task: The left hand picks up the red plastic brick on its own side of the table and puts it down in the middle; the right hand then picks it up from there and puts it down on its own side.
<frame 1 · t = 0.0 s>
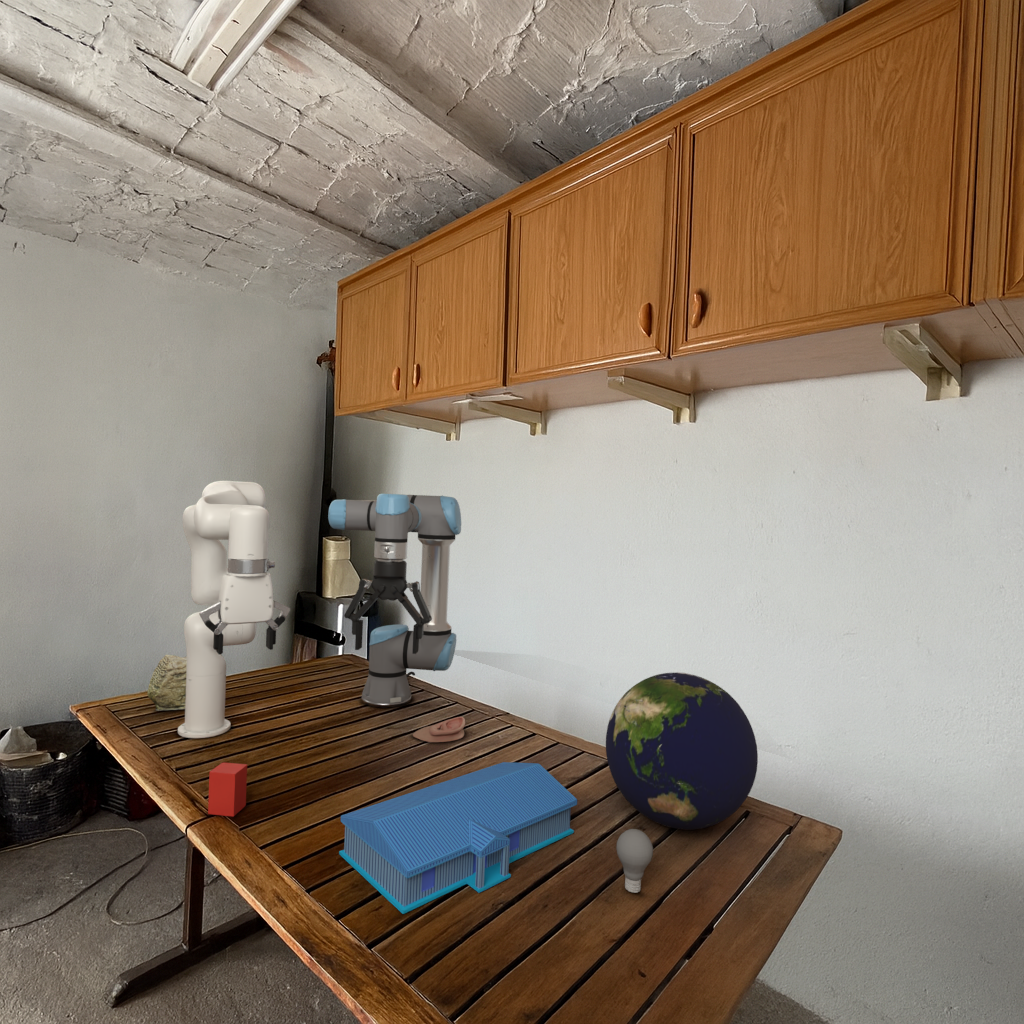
left hand: (244, 650, 130), 31 cm above the table, tool pointing down, fingers open, 9 cm apart
right hand: (386, 650, 148), 28 cm above the table, tool pointing down, fingers open, 13 cm apart
model building: (466, 846, 117), on the table
fossil: (183, 706, 185), on the table
brick: (227, 809, 127), on the table
anatomical model: (439, 735, 171), on the table
globe: (675, 821, 130), on the table
light bulb: (632, 891, 106), on the table
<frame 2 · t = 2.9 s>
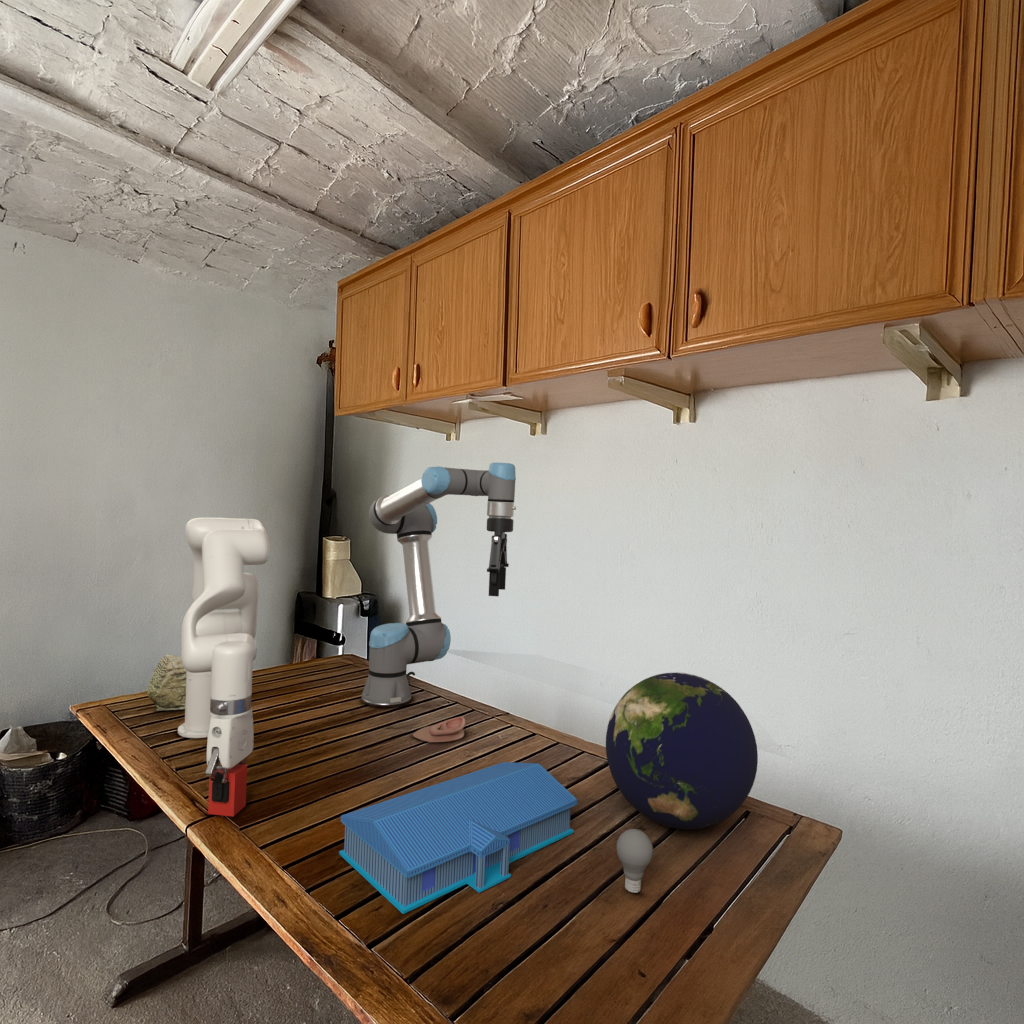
left hand: (227, 794, 127), 3 cm above the table, tool pointing down, fingers closed on brick, 4 cm apart
right hand: (497, 592, 179), 38 cm above the table, tool pointing down, fingers open, 13 cm apart
brick: (227, 809, 127), on the table, touching left hand
everything else where it was.
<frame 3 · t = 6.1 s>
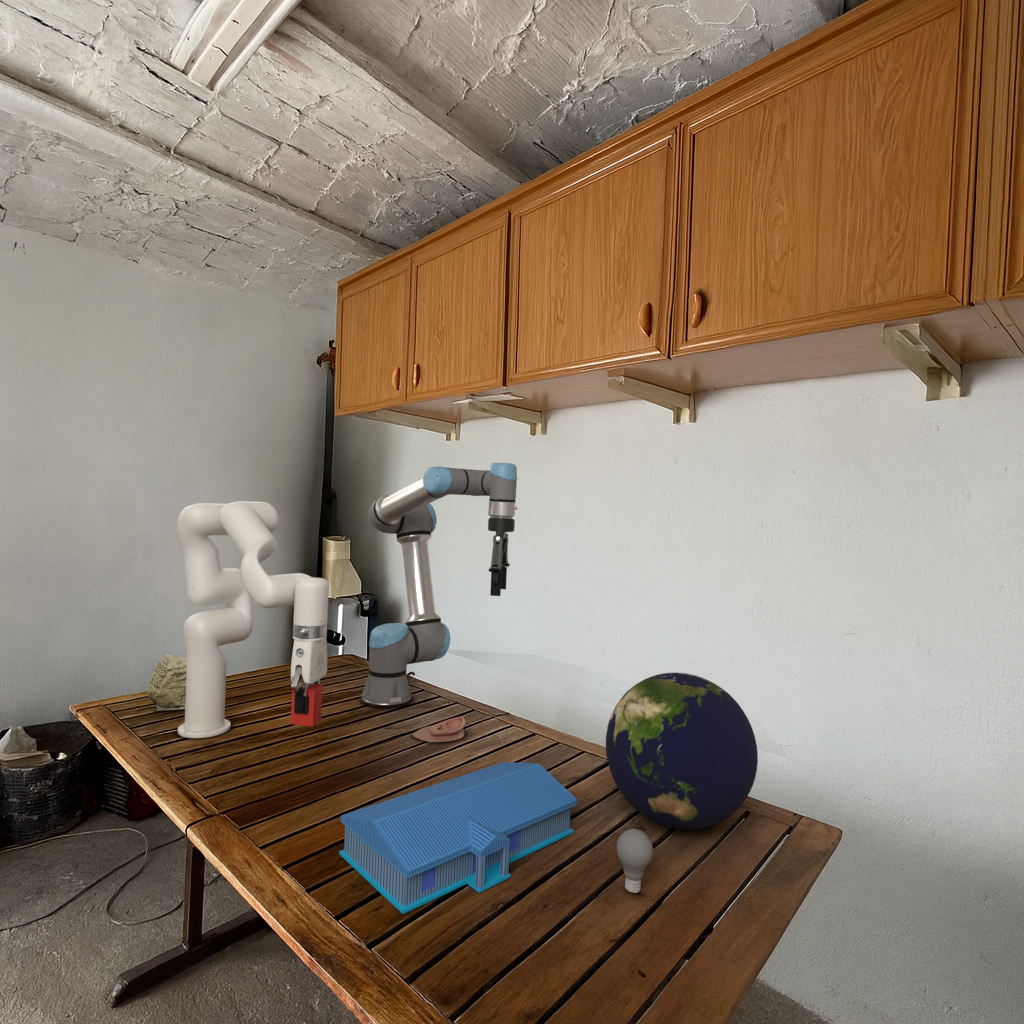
left hand: (306, 708, 147), 14 cm above the table, tool pointing down, fingers closed on brick, 4 cm apart
right hand: (498, 592, 180), 38 cm above the table, tool pointing down, fingers open, 13 cm apart
brick: (306, 722, 147), point 11 cm above the table, touching left hand
everything else where it was.
when the left hand's fingers open (5 cm above the table, at t = 9.3 s): brick drops 2 cm, on the table.
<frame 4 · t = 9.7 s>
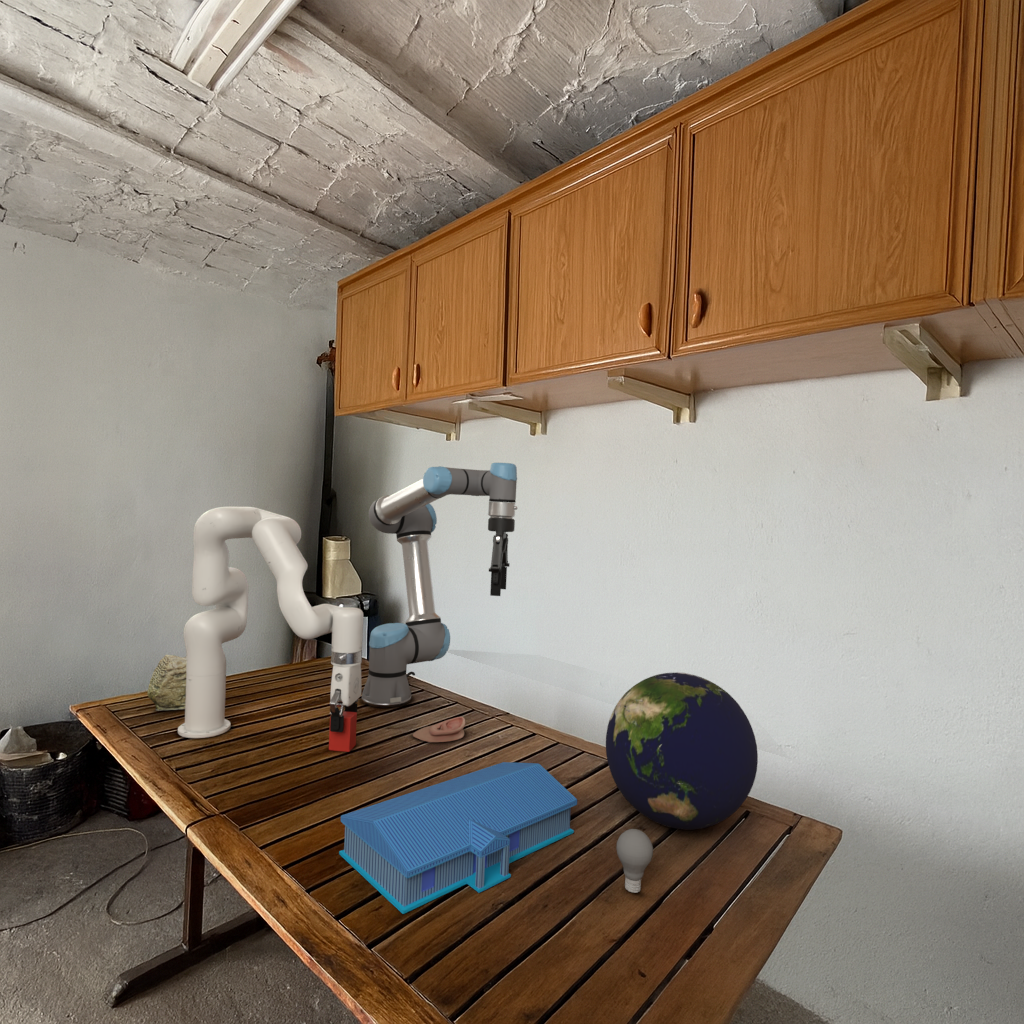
left hand: (343, 724, 160), 6 cm above the table, tool pointing down, fingers open, 9 cm apart
right hand: (498, 592, 180), 38 cm above the table, tool pointing down, fingers open, 13 cm apart
brick: (342, 747, 160), on the table
everything else where it was.
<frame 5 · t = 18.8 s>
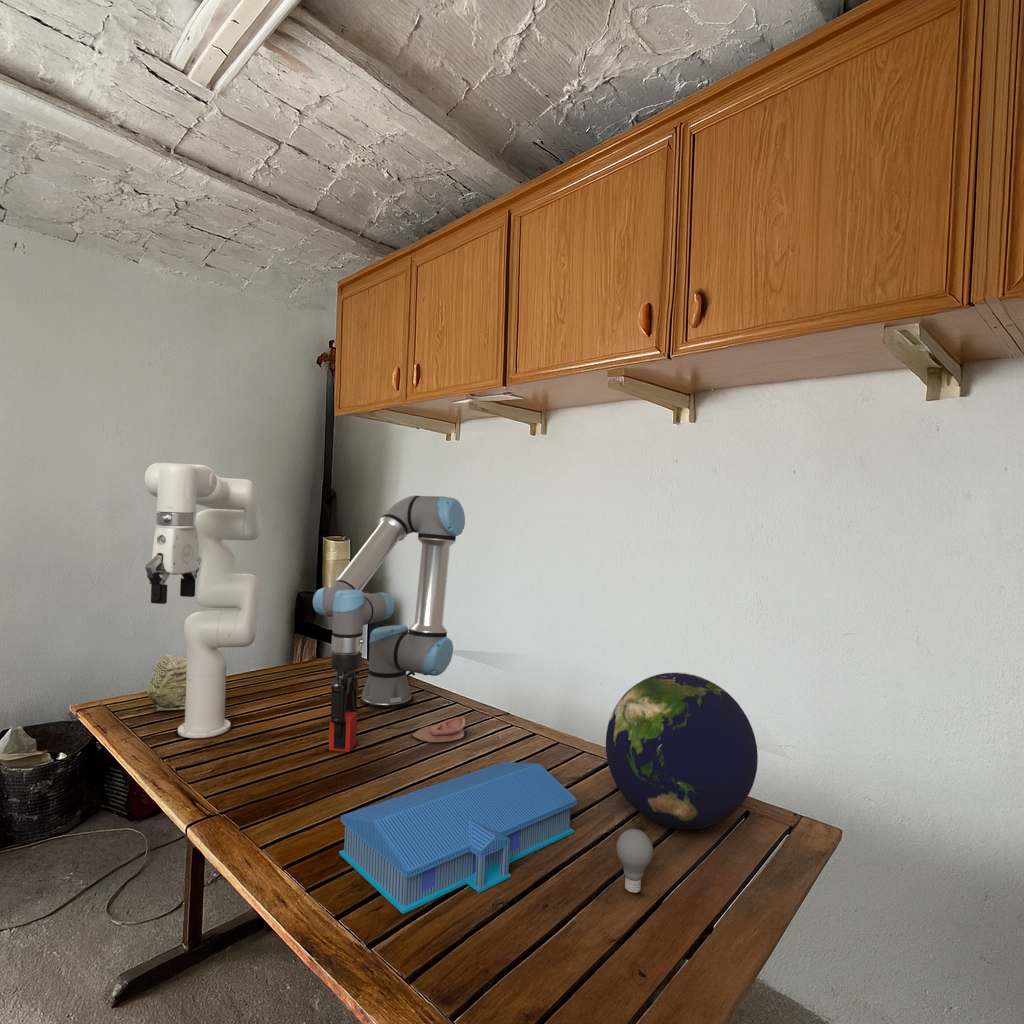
left hand: (173, 599, 137), 40 cm above the table, tool pointing down, fingers open, 9 cm apart
right hand: (343, 743, 160), 1 cm above the table, tool pointing down, fingers closed on brick, 5 cm apart
brick: (342, 747, 160), on the table, touching right hand
everything else where it was.
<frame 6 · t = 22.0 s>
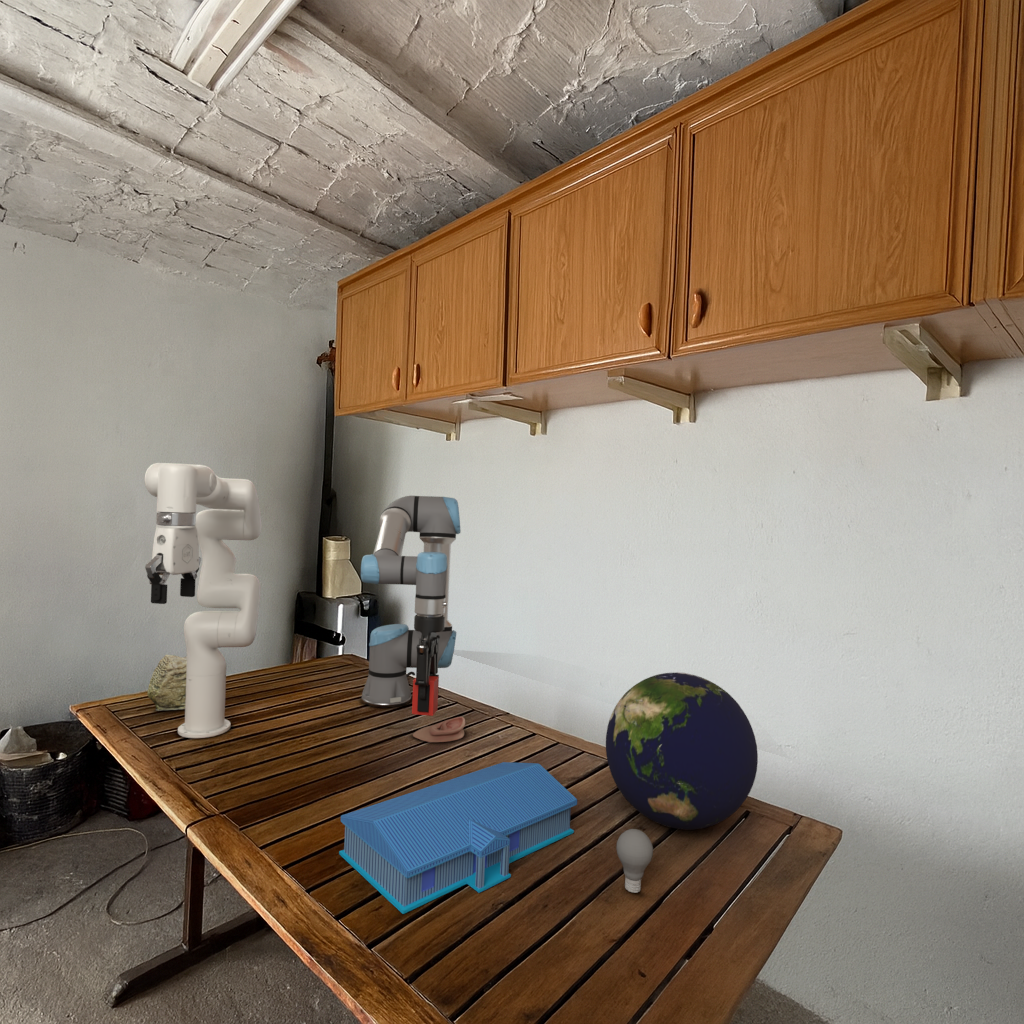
left hand: (173, 599, 137), 40 cm above the table, tool pointing down, fingers open, 9 cm apart
right hand: (425, 707, 158), 12 cm above the table, tool pointing down, fingers closed on brick, 5 cm apart
brick: (424, 711, 158), point 11 cm above the table, touching right hand
everything else where it was.
when the right hand's fingers open (3 cm above the table, at t = 25.2 s): brick drops 2 cm, on the table.
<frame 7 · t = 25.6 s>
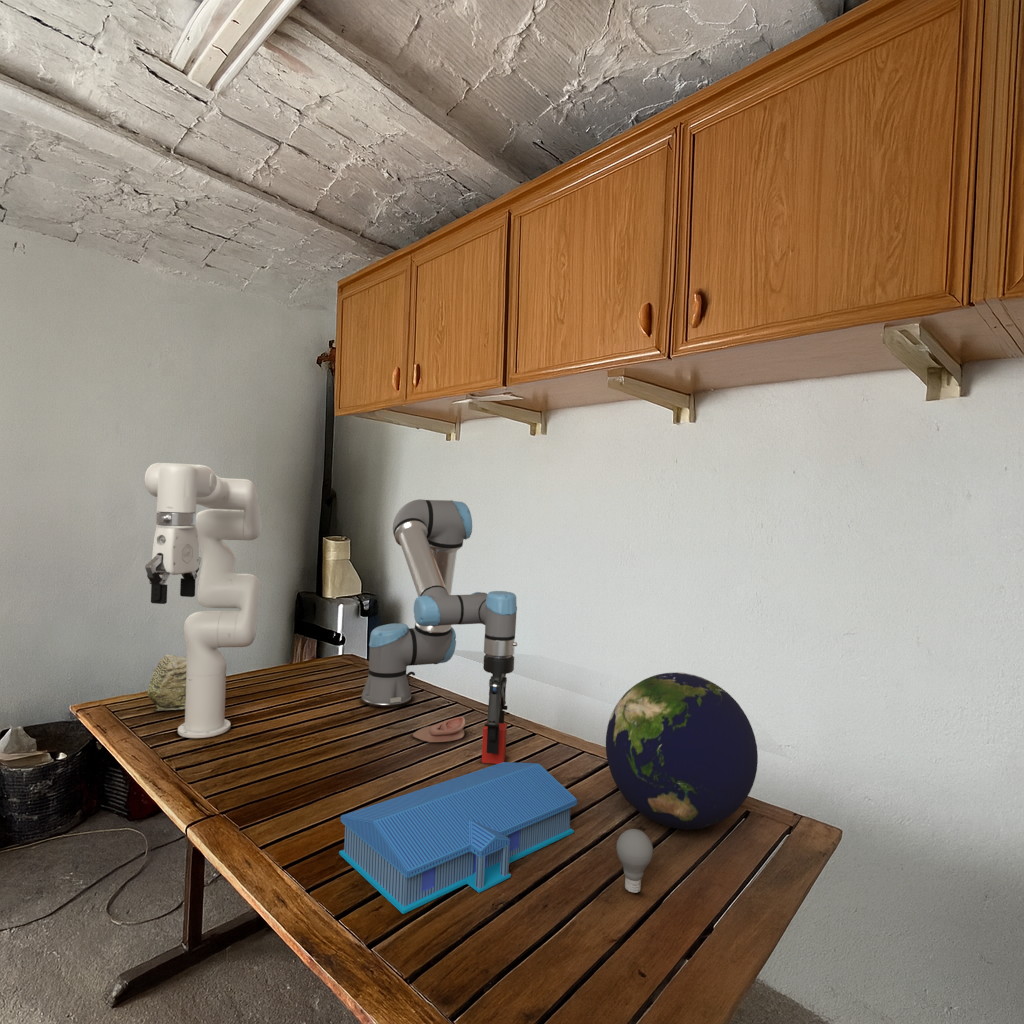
left hand: (173, 599, 137), 40 cm above the table, tool pointing down, fingers open, 9 cm apart
right hand: (495, 744, 156), 4 cm above the table, tool pointing down, fingers open, 10 cm apart
brick: (493, 759, 157), on the table
everything else where it was.
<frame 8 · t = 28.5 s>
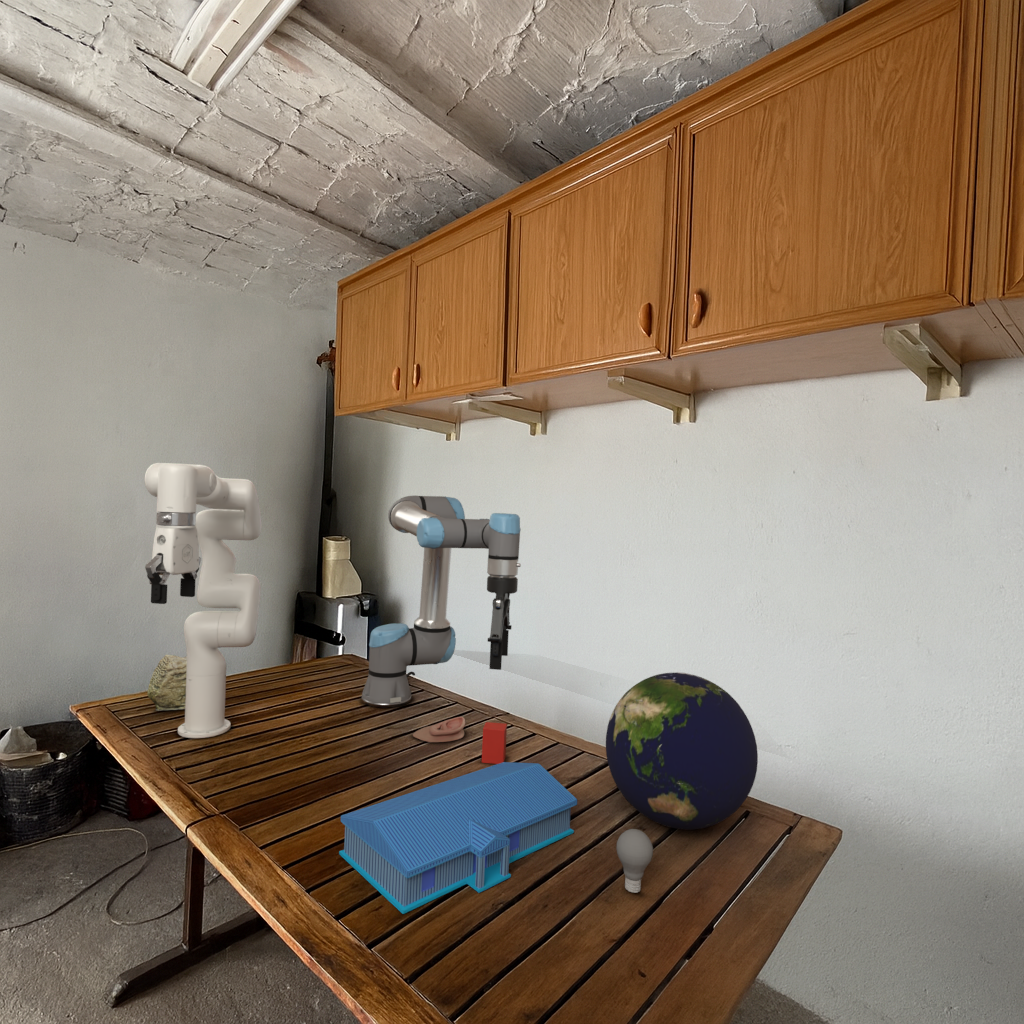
left hand: (173, 599, 137), 40 cm above the table, tool pointing down, fingers open, 9 cm apart
right hand: (498, 662, 156), 24 cm above the table, tool pointing down, fingers open, 13 cm apart
nothing on the table moved.
at the end: brick inside the target area (0.2 cm from its centre), on the table; brick tilted 0°; the two hands never held the brick at the same time; the left hand is holding nothing; the right hand is holding nothing; brick at rest at the end (0.0 cm/s) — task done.
